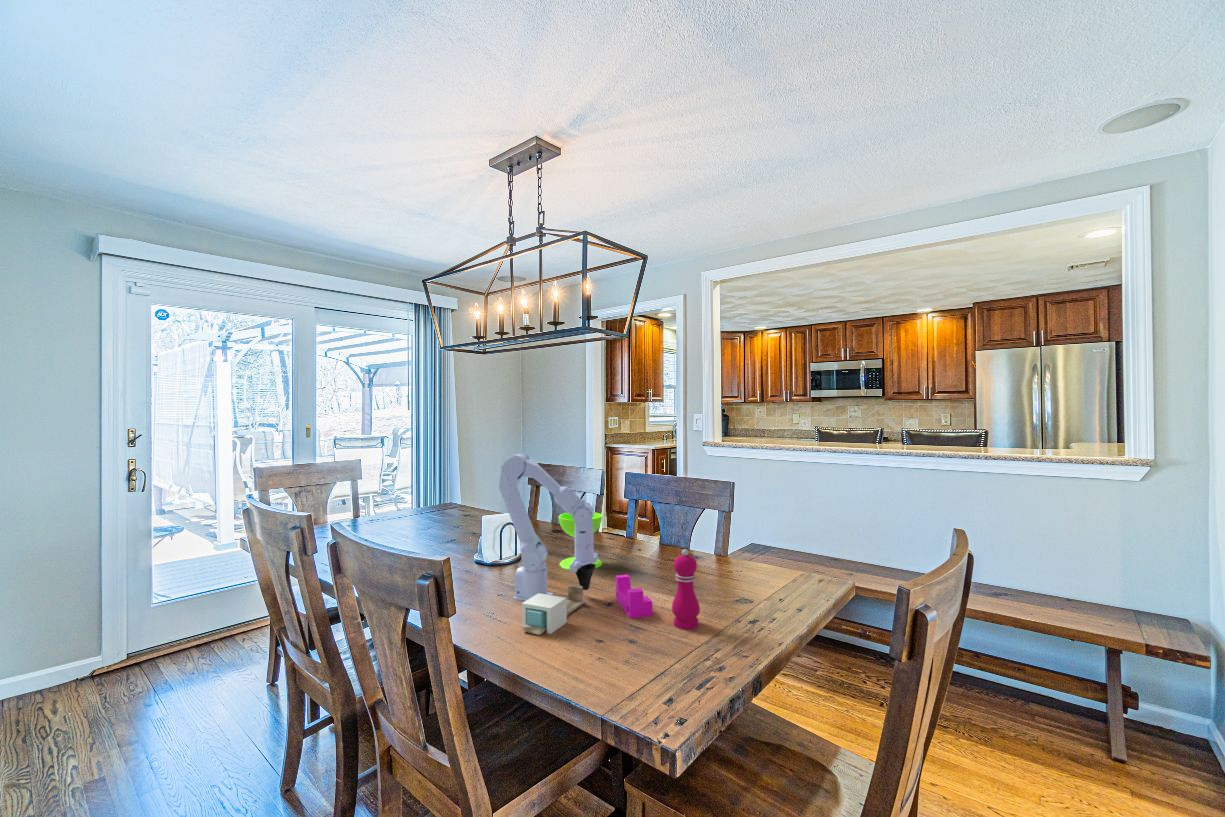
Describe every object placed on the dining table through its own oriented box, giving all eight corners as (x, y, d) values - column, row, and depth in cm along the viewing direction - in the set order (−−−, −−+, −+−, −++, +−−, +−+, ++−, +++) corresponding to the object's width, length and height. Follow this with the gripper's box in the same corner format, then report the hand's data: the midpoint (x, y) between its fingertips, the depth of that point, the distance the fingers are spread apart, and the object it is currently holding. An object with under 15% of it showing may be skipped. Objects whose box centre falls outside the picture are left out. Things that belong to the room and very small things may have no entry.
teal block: (526, 627, 135) (526, 610, 135) (535, 621, 139) (535, 605, 139) (540, 630, 133) (540, 613, 133) (549, 623, 137) (549, 607, 137)
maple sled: (523, 631, 134) (523, 612, 134) (570, 600, 156) (570, 584, 156) (539, 634, 132) (539, 615, 132) (584, 602, 154) (584, 586, 154)
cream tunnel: (521, 629, 137) (521, 603, 137) (538, 618, 144) (538, 593, 144) (550, 635, 133) (550, 608, 133) (566, 623, 141) (566, 597, 141)
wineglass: (602, 571, 185) (601, 520, 185) (556, 571, 186) (555, 520, 186) (603, 558, 201) (602, 511, 201) (561, 558, 202) (560, 511, 202)
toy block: (652, 617, 144) (651, 590, 144) (630, 620, 143) (630, 592, 143) (636, 598, 159) (635, 573, 159) (616, 600, 157) (615, 575, 157)
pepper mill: (682, 633, 133) (681, 554, 133) (666, 623, 140) (665, 547, 140) (705, 627, 137) (704, 550, 137) (689, 618, 143) (688, 544, 143)
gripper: (584, 551, 151) (585, 598, 151) (606, 539, 164) (607, 583, 164) (563, 549, 154) (563, 595, 154) (586, 537, 167) (587, 580, 167)
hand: (584, 589), depth 159 cm, fingers closed
